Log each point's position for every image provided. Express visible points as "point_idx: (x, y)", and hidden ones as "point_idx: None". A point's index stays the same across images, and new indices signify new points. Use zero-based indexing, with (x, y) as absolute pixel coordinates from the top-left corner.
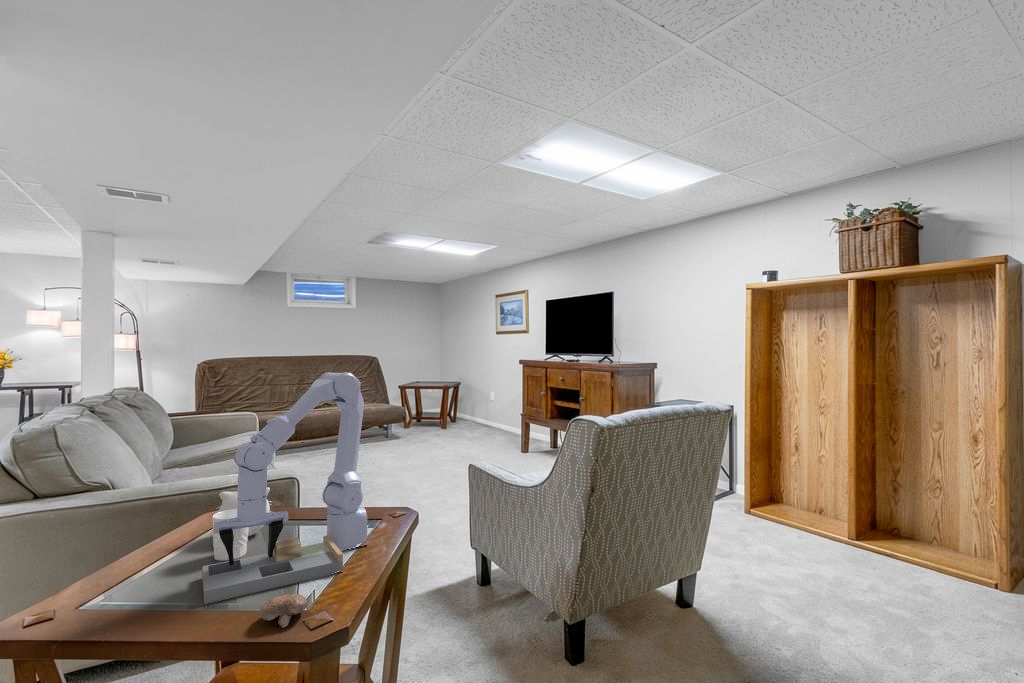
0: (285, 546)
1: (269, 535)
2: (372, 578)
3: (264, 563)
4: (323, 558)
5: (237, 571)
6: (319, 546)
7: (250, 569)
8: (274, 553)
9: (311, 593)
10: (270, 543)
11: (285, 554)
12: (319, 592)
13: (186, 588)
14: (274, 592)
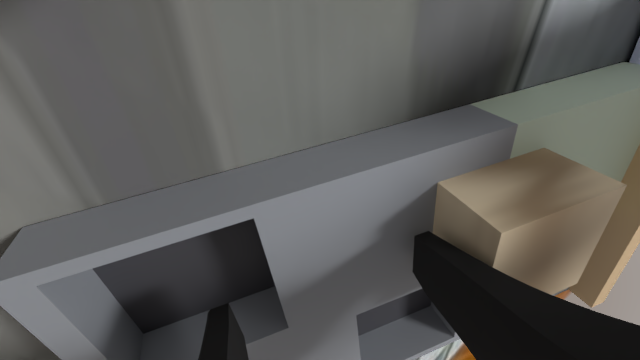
0: None
1: (513, 350)
2: (564, 294)
3: (382, 282)
4: None
5: (270, 347)
6: (625, 134)
7: (324, 331)
8: (446, 225)
9: (445, 348)
10: (470, 345)
11: None
12: (459, 344)
13: (4, 328)
14: None
